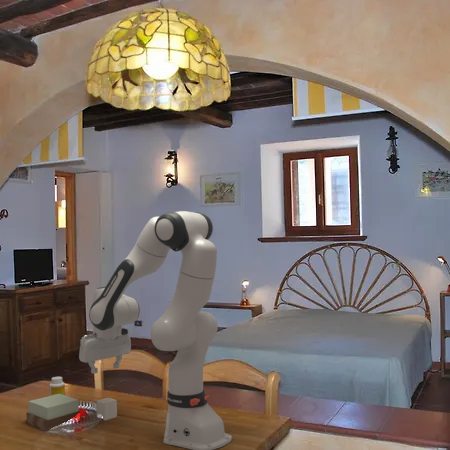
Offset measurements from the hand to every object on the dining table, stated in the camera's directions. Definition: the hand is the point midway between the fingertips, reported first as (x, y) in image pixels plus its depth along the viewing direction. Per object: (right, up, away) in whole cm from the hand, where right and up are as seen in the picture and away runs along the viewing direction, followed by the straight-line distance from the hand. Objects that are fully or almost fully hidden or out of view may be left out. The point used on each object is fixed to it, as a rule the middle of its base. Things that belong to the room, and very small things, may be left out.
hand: (105, 370), depth 201 cm
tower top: (-17, -13, -5) cm, 22 cm away
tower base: (-17, -17, -5) cm, 25 cm away
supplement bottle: (-22, -17, +15) cm, 32 cm away
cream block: (+1, -16, 0) cm, 17 cm away
